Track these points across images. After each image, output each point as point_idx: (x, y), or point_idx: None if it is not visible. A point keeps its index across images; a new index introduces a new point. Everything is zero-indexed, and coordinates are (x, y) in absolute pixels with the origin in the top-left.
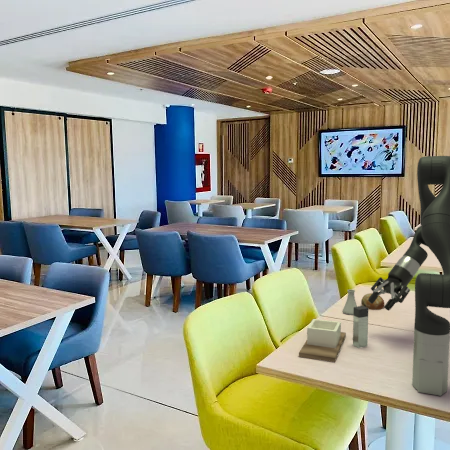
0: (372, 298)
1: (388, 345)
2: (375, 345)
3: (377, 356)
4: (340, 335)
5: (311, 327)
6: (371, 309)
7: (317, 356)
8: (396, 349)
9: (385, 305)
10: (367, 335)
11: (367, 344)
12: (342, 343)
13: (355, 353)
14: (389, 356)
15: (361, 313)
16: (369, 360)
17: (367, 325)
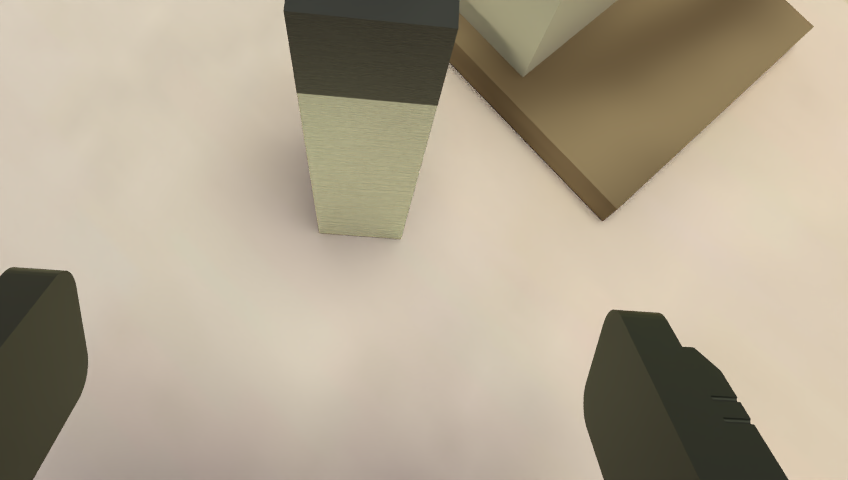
0: (632, 404)
1: (228, 435)
2: (296, 316)
3: (99, 148)
4: (523, 56)
5: None
6: None
7: None
8: (107, 431)
9: (30, 281)
10: (313, 194)
11: (319, 228)
12: (462, 70)
13: (253, 38)
14: (33, 240)
15: None
16: (81, 36)
17: (307, 145)
